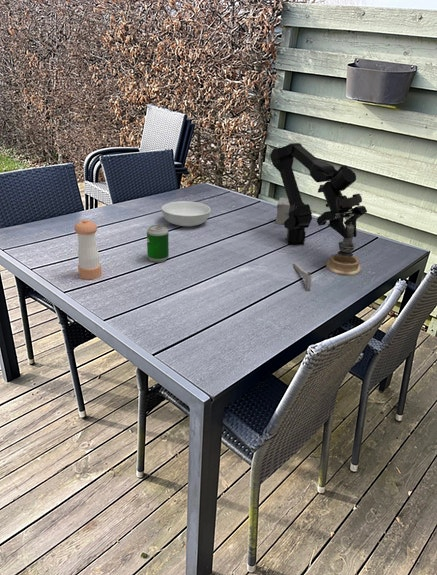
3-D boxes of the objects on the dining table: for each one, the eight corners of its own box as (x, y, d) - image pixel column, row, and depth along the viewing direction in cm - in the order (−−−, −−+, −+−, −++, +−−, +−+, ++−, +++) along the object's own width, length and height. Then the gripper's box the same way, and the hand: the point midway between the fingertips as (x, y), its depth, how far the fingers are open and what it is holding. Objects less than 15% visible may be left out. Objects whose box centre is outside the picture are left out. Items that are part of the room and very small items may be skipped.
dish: (331, 275, 165) (333, 266, 163) (322, 261, 175) (323, 252, 174) (365, 275, 166) (367, 266, 164) (353, 261, 176) (355, 252, 175)
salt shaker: (340, 249, 172) (345, 217, 166) (356, 253, 169) (362, 221, 163) (334, 254, 167) (339, 222, 162) (350, 258, 165) (356, 226, 159)
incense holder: (274, 224, 209) (277, 201, 205) (277, 218, 217) (279, 196, 212) (297, 227, 207) (300, 204, 203) (299, 221, 215) (302, 198, 210)
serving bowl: (209, 232, 198) (210, 216, 195) (159, 230, 198) (158, 214, 194) (210, 216, 216) (211, 201, 213) (164, 214, 216) (164, 199, 213)
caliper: (310, 291, 154) (312, 273, 151) (306, 291, 154) (309, 273, 151) (295, 265, 172) (297, 249, 169) (292, 265, 172) (294, 249, 169)
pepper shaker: (81, 281, 153) (76, 224, 145) (76, 272, 159) (70, 217, 150) (104, 277, 157) (99, 222, 148) (98, 268, 162) (93, 215, 154)
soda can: (172, 257, 173) (172, 226, 168) (161, 265, 167) (161, 232, 162) (154, 253, 176) (154, 222, 170) (143, 260, 170) (142, 228, 164)
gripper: (327, 188, 156) (345, 231, 153) (368, 183, 165) (386, 223, 161) (308, 204, 165) (325, 245, 162) (348, 198, 174) (364, 237, 171)
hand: (351, 237), depth 164 cm, fingers closed on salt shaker, 4 cm apart
